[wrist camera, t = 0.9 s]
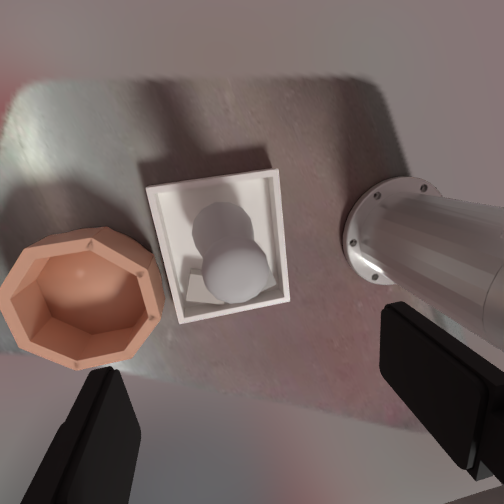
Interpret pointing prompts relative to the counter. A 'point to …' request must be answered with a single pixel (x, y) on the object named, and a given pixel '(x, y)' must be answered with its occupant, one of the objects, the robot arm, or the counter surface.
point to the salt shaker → (229, 253)
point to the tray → (182, 244)
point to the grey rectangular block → (269, 281)
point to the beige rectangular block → (199, 289)
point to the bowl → (83, 297)
